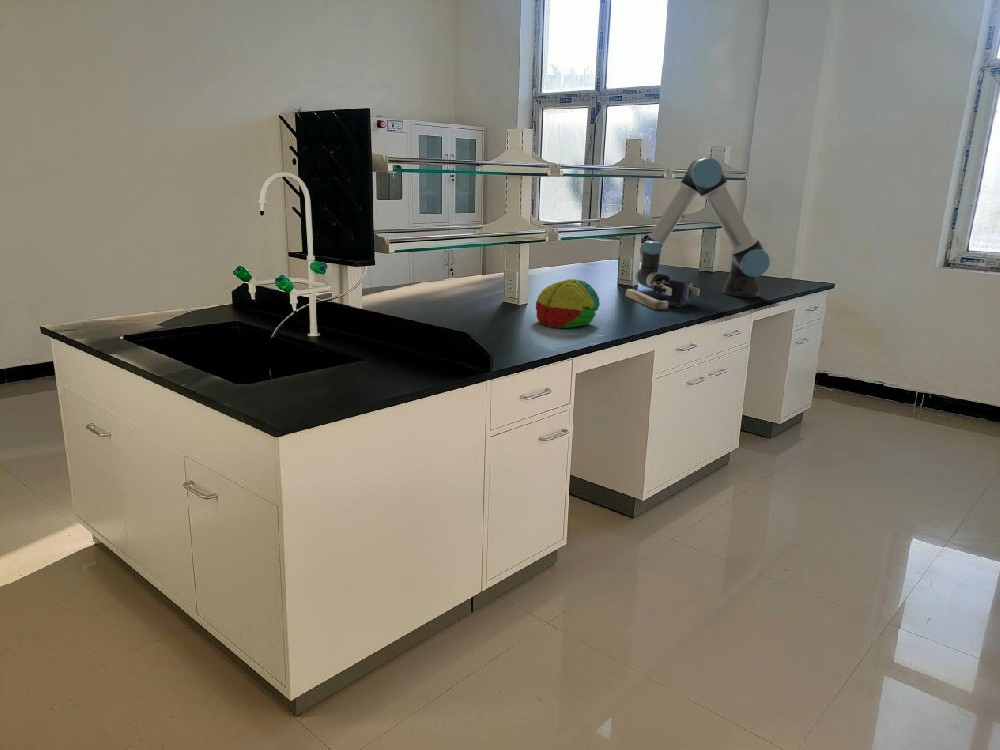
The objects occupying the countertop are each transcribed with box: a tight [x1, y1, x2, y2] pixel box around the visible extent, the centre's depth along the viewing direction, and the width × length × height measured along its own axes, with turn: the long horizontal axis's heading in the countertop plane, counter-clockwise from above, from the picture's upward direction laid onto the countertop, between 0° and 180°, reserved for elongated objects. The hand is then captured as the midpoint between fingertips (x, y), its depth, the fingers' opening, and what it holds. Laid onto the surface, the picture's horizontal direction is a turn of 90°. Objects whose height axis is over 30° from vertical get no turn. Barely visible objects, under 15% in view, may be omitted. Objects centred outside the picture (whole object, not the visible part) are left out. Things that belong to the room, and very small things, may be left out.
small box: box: [665, 276, 695, 309], centre depth 285 cm, size 11×6×10 cm, turn 143°
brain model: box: [535, 278, 601, 329], centre depth 242 cm, size 24×19×15 cm
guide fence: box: [625, 288, 669, 311], centre depth 287 cm, size 6×26×3 cm, turn 15°
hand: (684, 292), depth 281 cm, fingers closed on small box, 11 cm apart
